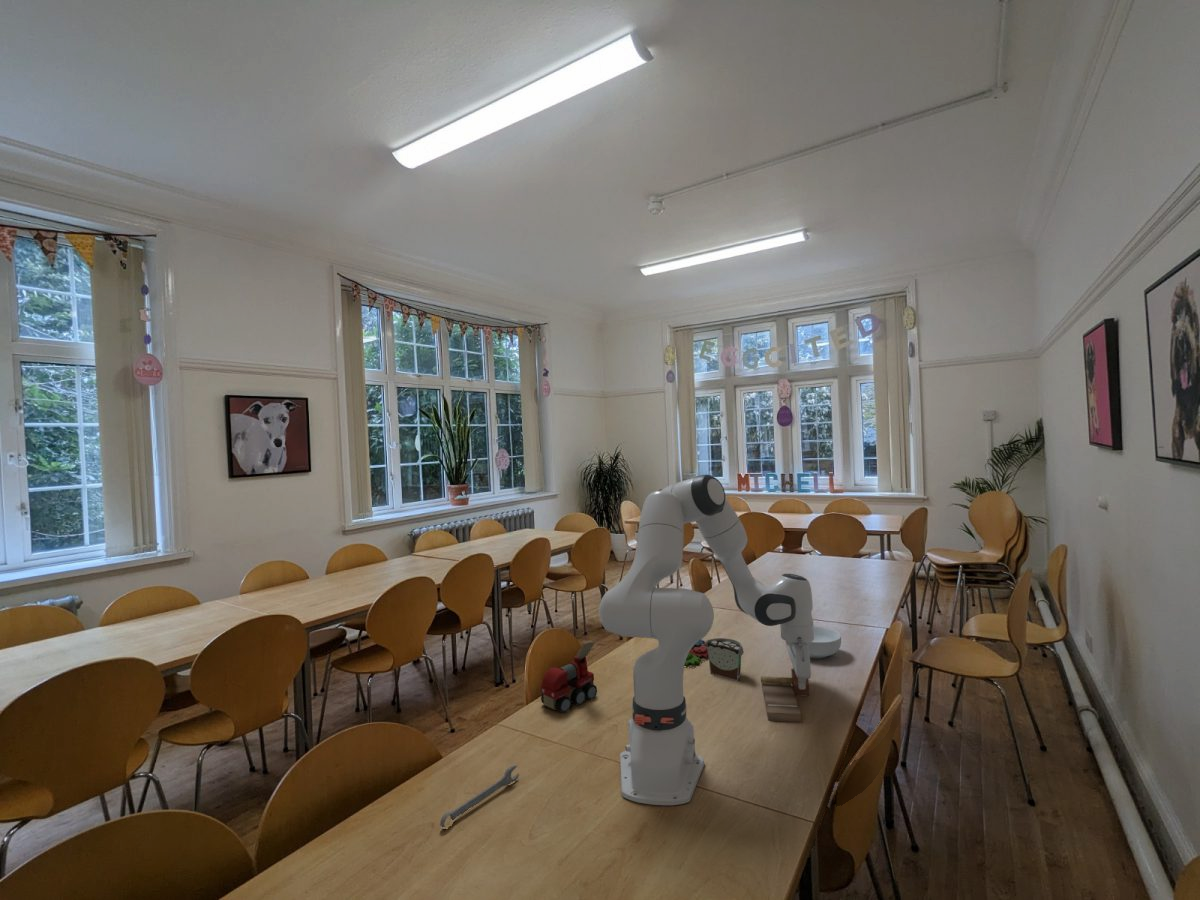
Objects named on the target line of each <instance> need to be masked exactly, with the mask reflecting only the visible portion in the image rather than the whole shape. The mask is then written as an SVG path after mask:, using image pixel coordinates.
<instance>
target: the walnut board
mask: <svg viewBox="0 0 1200 900" xmlns="http://www.w3.org/2000/svg"><path fill="white" fill-rule="evenodd" d="M761 691H762V696H763V700H764V706H765V710H766V712H765V713H766V717H767V720H768V721H771V722H772V721H774V722H775V721H777V722H790V723H792V722H796V723H802V713H801V710H800V707H799V704H798V701H797V697H796V695H795V694H794V691H793V688H792V684H780V683H761Z"/></svg>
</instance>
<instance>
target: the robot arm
mask: <svg viewBox="0 0 1200 900" xmlns="http://www.w3.org/2000/svg"><path fill="white" fill-rule="evenodd" d="M694 522H695V523H696V525H697V527H698V530H699V531H700V533H701V535H702V538H703V539H704V541H705V543H706V544H707V545H708V546H709V549H711V551H712V552H713V554H714V555H715V556H716V557H717V559H718V560H719V562H720V563H721V565H722V568H723V569H724V571H725V573H726V575H727V576H728V579H729V581H730V582H731V584H732V588H733V595H734V602H735V604H736V607H737V608H738V609H739V610H740V611H741V612H742V613H744V614H746V615H747V616H749V617H751V618H752V619H754V621H757V622H758V623H760V624H762V625H764V626H767V627H768V626H769V627H773V626H774V627H775V626H778V625H780V638H781V639H782V640H783V641H785V647H786V651H787V654H788V656H789V658H790V659H789V660H790V661H791V664H792V665H791V666H792V669H794V670H795V673H796V676H797V678H798V687H799V689H803V690H804V689H806V679H808V680H809V679H811V676H812V671H811V670H812V669H811V658H810V655H809V650H808V646H809V645H810V644H809V642H812V641H813V640H814V626H815V625H814V619H813V615H812V612H813V608H814V607H813V606H814V605H813V604H814V603H813V595H812V594H813V592H812V588H811V587H812V586H811V583H810V581H809V580H808V579H807V578H805V577H804V576H801V575H799V574H794V573H784V574H783V573H782V574H781V575H780V577H778V579H777V580H775V581H774V582H773V583H771V584H770V585H764V584H763V583H762V582H760V580H757V579H756V578H755V577H754V576H753V574H752V572H751V571H750V569H749V567H748V564H747V562H746V561H745V558H744V556H743V554H742V552H743V551H744V549H746V546H747V543H748V539H749V538H748V536H747V533H746V529H745V527H744V525H743V522H742V521H741V519H740V517H739V516H738V514H737V513H736V511H735V509H734V508H733V506H732V505H731V504H730V502H728V500H727V499H726V492H725V488H724V487H723V484H722V483H721V481H720V480H718V479H717V478H716V477H714V476H713V475H711V474H702V475H701V474H700V475H695V477H692V478H687V479H684V480H681V481H677V482H675V483H672V484H670V485H668V486H665V487H664V488H662V489H658V490H655V491H653V492H651V493H649V494H648V495H647V496H646V498H645V499H644V502H643V505H642V508H641V513H640V518H639V523H638V531H637V539H636V546H635V553H634V557H633V561H632V563H631V566H630V568H629V570H628V571H627V573H626V574H625V575H624V577H623V578H622V579H621V580H620V581H619V582H618V583H617V584H616V585H614V586H613V587H611V588H610V589H608V590H607V591H606V592H605V593H604V595H603V596H602V598H601V600H600V603H599V607H598V615H599V620H600V622H601V625H602V627H603V628H604V629H605V631H606V632H608V633H611V634H615V635H618V636H622V637H626V638H627V637H628V638H644V639H655V640H656V641H658V646H657V647H655V648H653V649H651V650H648V651H646V652H644V653H642V654H641V655H640V656H639V657H637V658H636V660H635V662H634V664H633V668H632V673H633V674H632V676H633V677H632V678H633V692H634V693H633V696H632V697H633V698H632V704H631V710H632V717H631V718H630V719H629V720H627V721H628V722H627V725H628V727H627V729H628V744H625V745H626V746H625V750H624V751H622V752H620V755H619V765H620V766H619V767H620V768H619V769H620V770H619V771H620V788H621V789H620V791H621V797H623V798H624V799H627V800H629V801H632V802H634V803H639V804H644V805H653V806H676V805H683V804H686V803H689V802H691V800H692V797H693V795H694V792H695V789H696V787H697V785H698V782H699V779H700V776H701V774H702V771H703V769H704V767H705V759H704V758H703V757H702V756H700V755H698V754H696V742H695V741H696V739H695V738H696V737H695V730H694V729H695V727H694V724H693V723H692V722H691V721H690V720H689V719H688V718H687V702H686V697H685V695H684V672H685V671H684V670H685V669H684V668H685V667H684V664H685V660H686V658H687V655H688V653H689V651H690V650H691V648H692V647H693V646H694V645H695V644H696V643H697V642H698V641H699V640H703V639H704V638H705V637H706V636H707V635H708V633H709V632H710V631H711V629H712V628H713V625H714V619H715V618H714V617H715V613H714V608H713V605H712V602H711V600H710V599H709V598H708V596H707V595H706V594H705V593H704V592H699V591H697V590H692V589H688V588H681V587H680V588H679V587H677V588H676V587H675V588H674V587H673V588H672V587H671V588H670V587H657V586H658V585H659V584H660V583H661V582H662V581H663V580H664V579H666V578H668V577H670V576H672V575H674V574H675V573H676V572H677V571H678V570H679V569H680V567H681V566H682V564H683V560H684V559H683V555H684V535H685V533H684V532H685V531H684V529H685V528H684V527H685V526H684V525H685V524H689V523H690V524H691V523H694Z"/></svg>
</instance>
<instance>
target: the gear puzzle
mask: <svg viewBox="0 0 1200 900" xmlns="http://www.w3.org/2000/svg"><path fill="white" fill-rule="evenodd" d="M705 645H706V641H705V640H703V639H701V640H699V641H698V642H697V643H696V644H695V645H694V646H693V647H692V648H691V650H690V651H689V653H688V655H687V658H686V660H685V664H684V666H686V667H689V668H688V669H690V668H693V667H694V668H696V667H697V664H698V665H701V664H703V663H702V662H703V661H704V662H706V661H708V660H709V658H708V650H707V647H705ZM707 659H708V660H707ZM705 660H706V661H705ZM700 663H701V664H700ZM695 666H696V667H695ZM686 667H685V668H686ZM694 668H693V669H694Z"/></svg>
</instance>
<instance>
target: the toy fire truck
mask: <svg viewBox="0 0 1200 900" xmlns="http://www.w3.org/2000/svg"><path fill="white" fill-rule="evenodd" d="M594 645H595V642H594V641H593V640H590V641H585V642H582V644H581V647H580V648H579V650H578V652H577V653H576V655H574V657H573V661H572V662H570V663H568V664H566V665H564V666H561V667H559V668H558V667H555V666H553V667H551V668H549V669H547V670H546V672H545V673H544V675H543V678H542V683H541V684H540V692H541V697H540V700H541V703H542V704H544V706H546V707H547V708H550V709H552V710H555V711H558V712H561V713H562V714H564V713H568V712H569V710H570V708H571V706H572V703H573V704H575V705H577V706H581V705H583V704H584V703H585V701H586V699H587V700H589V701H591V699H592V700H593V698H594V699H595V698H596V696H597V693H598V688H597V686H596V685H595V684H594V681H595V676H594V675H595V674H594V672H591V671H589V670H588V665H587V656H588V655H589V654H590V652H591V650H592V649H593V646H594Z"/></svg>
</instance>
